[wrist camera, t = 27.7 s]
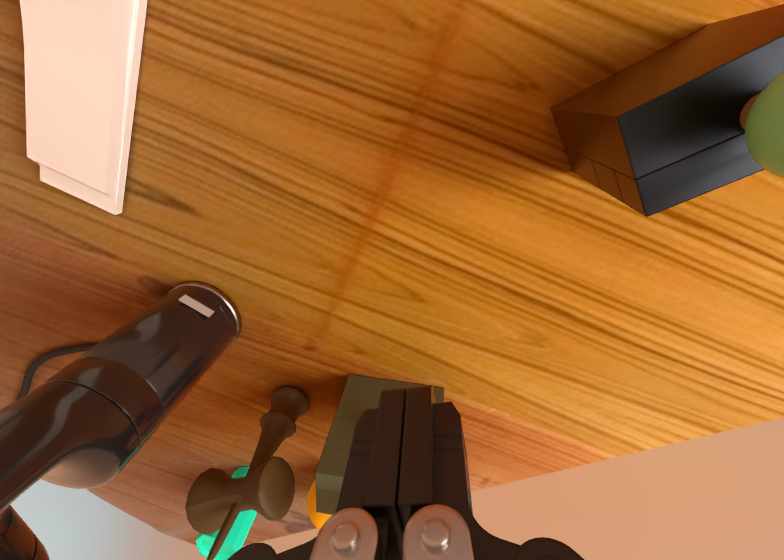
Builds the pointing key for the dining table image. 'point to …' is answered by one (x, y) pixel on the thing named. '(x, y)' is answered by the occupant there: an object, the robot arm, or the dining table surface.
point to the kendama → (250, 476)
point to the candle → (236, 533)
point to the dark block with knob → (684, 116)
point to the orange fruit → (315, 517)
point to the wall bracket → (82, 93)
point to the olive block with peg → (349, 434)
